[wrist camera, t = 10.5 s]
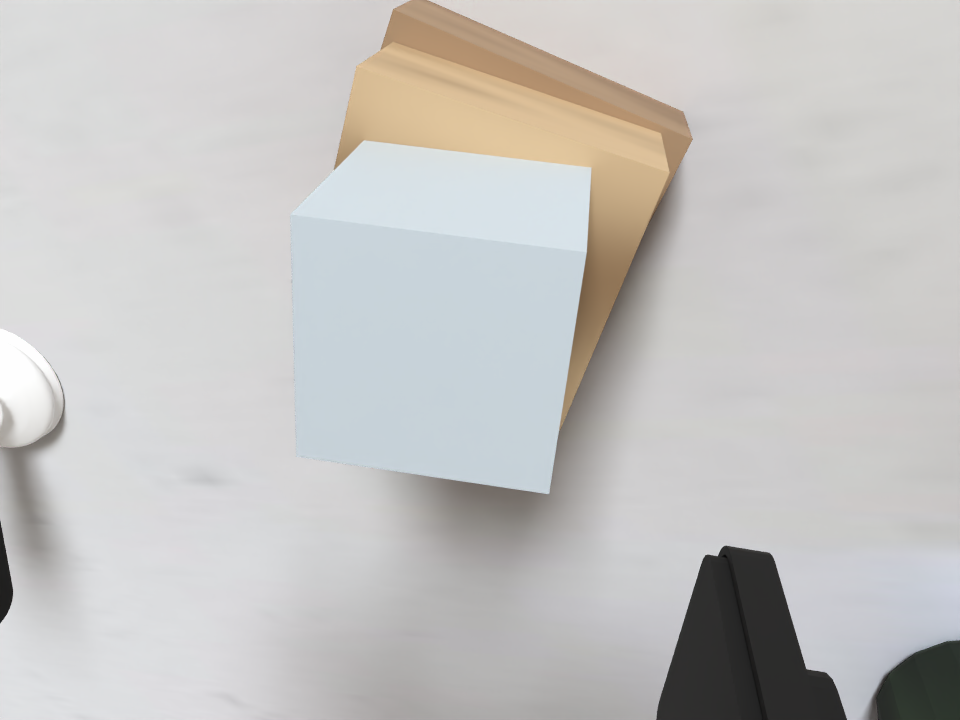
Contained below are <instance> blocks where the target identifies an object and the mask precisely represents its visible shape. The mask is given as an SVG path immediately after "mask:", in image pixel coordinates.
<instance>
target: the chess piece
mask: <svg viewBox="0 0 960 720" xmlns="http://www.w3.org/2000/svg"><path fill="white" fill-rule="evenodd" d="M63 403H64V402H63V393H62V388H61V385H60V382H59V380H58V378H57V376H56V374H55V372H54V370H53V369H52V367H51V366H50V364H49V363H48V362H47V360H46V359H45V358H44V357H43V356H42V355H41V354H40V353H39V352H38V351H37V350H36V349H35V348H34V347H33V346H31V345H30V344H29V343H27V342H26V341H25V340H23V339H21V338H20V337H18V336H16V335H14V334H12V333H10V332H8V331H6V330H3V329H0V447H7V448H13V447H22V446H26V445H29V444H32V443H34V442H35V441H37V440H39V439H40V438H41V437H43V436H45V435H46V434H48V433H49V432H51V431H52V430H53V429H54V428H55V427H56V425H57V424H58V422H59V420H60V418H61V416H62V412H63Z"/></svg>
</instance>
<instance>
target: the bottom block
mask: <svg viewBox="0 0 960 720" xmlns="http://www.w3.org/2000/svg"><path fill="white" fill-rule="evenodd" d="M392 42H395V43H398V44H401V45H404V46H407V47H410V48H413V49H416V50H419V51H422V52H424V53H427V54H430V55H433V56H436V57H439V58H442V59H445V60H448V61H451V62H454V63H457V64H460V65H463V66H465V67H468V68H471V69H474V70H477V71H480V72H483V73H486V74H489V75H492V76H495V77H498V78H501V79H504V80H507V81H509V82H512V83H515V84H518V85H521V86H524V87H527V88H530V89H533V90H536V91H539V92H542V93H545V94H548V95H551V96H553V97H556V98H559V99H562V100H565V101H568V102H571V103H574V104H577V105H580V106H583V107H586V108H589V109H592V110H595V111H597V112H600V113H603V114H606V115H609V116H612V117H615V118H618V119H621V120H624V121H627V122H630V123H633V124H636V125H638V126H641V127H644V128H647V129H650V130H653V131H656V132H659V133H661V136H662V140H663V145H664V149H665V154H666V158H667V163H668V168H669V172H670V173H669V175H668V178H667V180H666V182H665V185H664V187H663V190H662V192H661V194H660V197H659V199H658V201H657V204H656V206H655V208H654V211H653V213H652V215H651V218H652V217H653V215H654V213H655V211H656V209H657V207H658V205H659V203H660V201H661V199H662V197H663V195H664V193H665V192H666V190H667V188H668V186H669V184H670V182H671V180H672V178H673V176H674V174H675V172H676V170H677V168H678V167H679V165H680V163H681V161H682V159H683V157H684V155H685V153H686V151H687V149H688V147H689V145H690V143H691V142H692V140H693V139H692V136H691V133H690V130H689V127H688V124H687V121H686V118H685V116H684V113H683V111H680V110H678V109H676V108H673V107H671V106H669V105H666V104H664V103H662V102H660V101H657V100H655V99H653V98H650V97H648V96H646V95H644V94H641V93H639V92H637V91H634V90H632V89H630V88H627V87H625V86H623V85H621V84H618V83H616V82H614V81H611V80H609V79H607V78H605V77H602V76H600V75H598V74H595V73H593V72H591V71H588V70H586V69H584V68H582V67H579V66H577V65H575V64H572V63H570V62H568V61H566V60H563V59H561V58H559V57H556V56H554V55H552V54H549V53H547V52H545V51H543V50H540V49H538V48H536V47H533V46H531V45H529V44H527V43H524V42H522V41H520V40H517V39H515V38H513V37H510V36H508V35H506V34H504V33H501V32H499V31H497V30H494V29H492V28H490V27H488V26H485V25H483V24H481V23H478V22H476V21H474V20H471V19H469V18H467V17H465V16H462V15H460V14H458V13H455V12H453V11H451V10H449V9H446V8H444V7H442V6H439V5H437V4H435V3H432V2H430V1H428V0H411V1H409V2H407V3H405V4H403V5H401V6H399V7H397V8H395V9H393V12H392V15H391V18H390V21H389V25H388V28H387V31H386V34H385V37H384V41H383V44H382V47H381V50H382V49H383V48H385V47H386V46H388V45H389V44H391V43H392ZM651 218H650V220H651ZM650 220H649V222H650ZM649 222H648V224H649ZM647 226H648V225H647ZM646 228H647V227H646ZM645 230H646V229H645Z"/></svg>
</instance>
